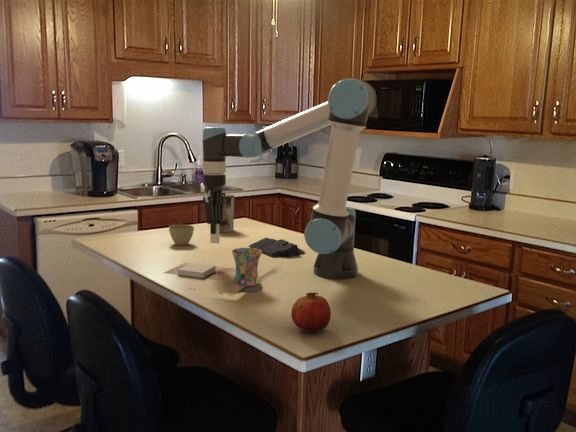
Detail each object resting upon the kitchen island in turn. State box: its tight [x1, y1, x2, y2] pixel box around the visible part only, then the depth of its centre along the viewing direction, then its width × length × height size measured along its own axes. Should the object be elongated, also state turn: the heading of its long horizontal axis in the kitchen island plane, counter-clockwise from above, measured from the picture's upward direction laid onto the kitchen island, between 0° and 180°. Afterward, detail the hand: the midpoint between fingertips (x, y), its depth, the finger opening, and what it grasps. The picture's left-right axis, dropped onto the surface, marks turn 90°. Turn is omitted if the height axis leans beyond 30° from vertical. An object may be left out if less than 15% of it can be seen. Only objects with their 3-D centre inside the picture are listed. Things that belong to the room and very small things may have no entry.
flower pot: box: [168, 224, 195, 246], centre depth 238 cm, size 10×10×7 cm
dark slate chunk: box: [247, 237, 306, 259], centre depth 233 cm, size 15×22×5 cm
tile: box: [177, 262, 217, 279], centre depth 192 cm, size 9×2×9 cm
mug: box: [231, 247, 263, 287], centre depth 183 cm, size 12×9×11 cm
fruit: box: [290, 292, 332, 333], centre depth 149 cm, size 11×10×10 cm
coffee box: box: [219, 194, 235, 233], centre depth 266 cm, size 9×6×16 cm
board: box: [163, 262, 236, 281], centre depth 196 cm, size 20×14×2 cm
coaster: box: [237, 282, 263, 293], centre depth 184 cm, size 11×11×1 cm
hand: (214, 242), depth 202 cm, fingers closed
